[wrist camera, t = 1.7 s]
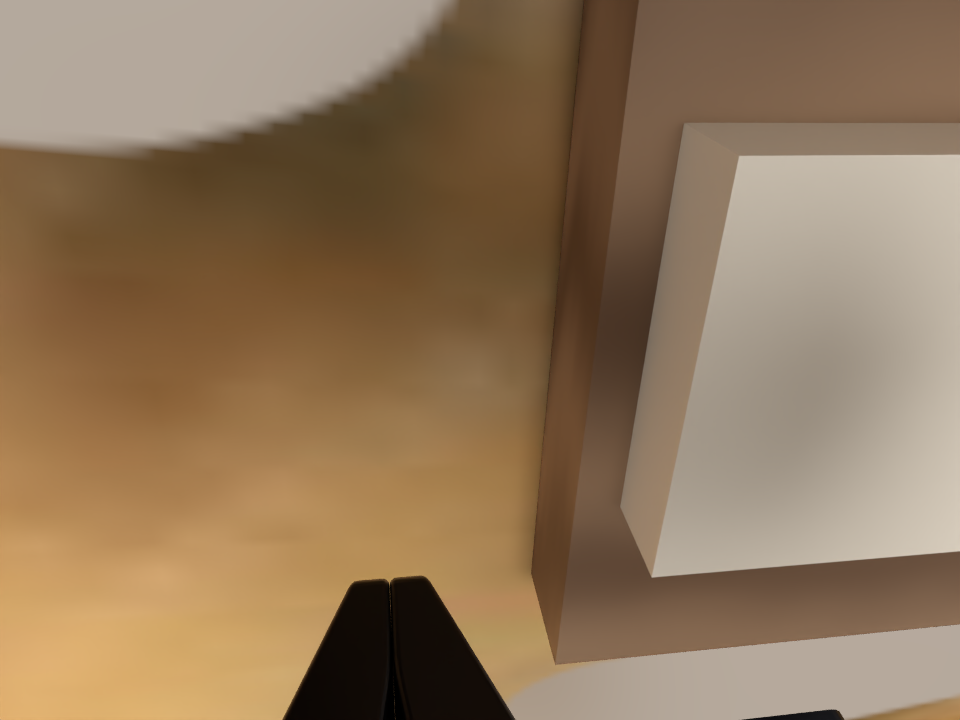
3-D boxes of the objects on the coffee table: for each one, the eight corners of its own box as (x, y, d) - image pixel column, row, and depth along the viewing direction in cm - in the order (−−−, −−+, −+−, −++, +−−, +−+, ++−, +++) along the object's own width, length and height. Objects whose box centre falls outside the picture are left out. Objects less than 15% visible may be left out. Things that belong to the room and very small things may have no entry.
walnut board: (919, 541, 22) (992, 621, 20) (531, 573, 21) (555, 664, 18) (1251, -200, 13) (1467, -232, 11) (606, -245, 12) (676, -295, 9)
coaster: (958, 483, 17) (1026, 545, 15) (620, 506, 16) (651, 577, 14) (1122, 123, 13) (1240, 153, 11) (683, 122, 12) (739, 155, 10)
